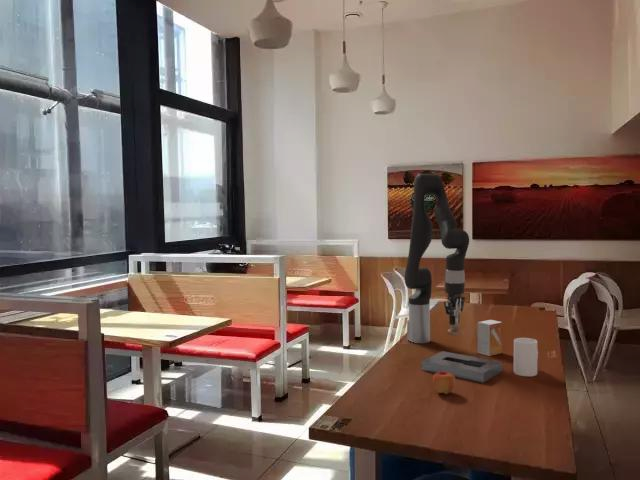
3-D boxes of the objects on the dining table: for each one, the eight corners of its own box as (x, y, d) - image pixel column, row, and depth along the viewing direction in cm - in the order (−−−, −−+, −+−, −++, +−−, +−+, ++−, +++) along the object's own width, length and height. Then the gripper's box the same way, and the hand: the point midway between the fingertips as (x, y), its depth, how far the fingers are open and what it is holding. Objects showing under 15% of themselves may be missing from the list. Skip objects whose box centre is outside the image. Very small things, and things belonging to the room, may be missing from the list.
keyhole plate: (422, 369, 199) (421, 360, 199) (442, 359, 211) (442, 351, 211) (483, 382, 184) (483, 372, 183) (501, 371, 196) (501, 361, 196)
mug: (538, 367, 199) (538, 336, 198) (537, 377, 188) (538, 344, 187) (514, 365, 202) (514, 334, 201) (513, 375, 191) (513, 342, 190)
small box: (489, 356, 215) (489, 324, 214) (477, 353, 220) (477, 321, 219) (502, 353, 219) (502, 321, 218) (490, 349, 224) (490, 319, 223)
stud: (445, 334, 213) (446, 304, 212) (451, 331, 216) (451, 302, 215) (457, 336, 209) (457, 306, 208) (463, 333, 213) (463, 304, 212)
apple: (451, 398, 170) (451, 374, 169) (429, 394, 174) (429, 370, 173) (458, 391, 176) (458, 367, 175) (437, 387, 180) (437, 364, 179)
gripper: (454, 277, 219) (453, 319, 220) (437, 282, 208) (437, 325, 210) (471, 279, 214) (471, 321, 215) (455, 284, 203) (454, 328, 205)
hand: (454, 323), depth 212 cm, fingers closed on stud, 3 cm apart
